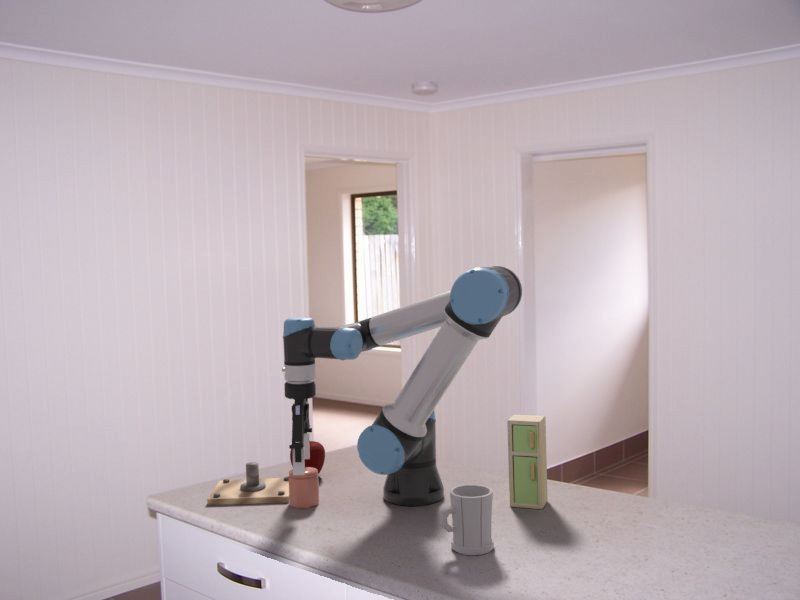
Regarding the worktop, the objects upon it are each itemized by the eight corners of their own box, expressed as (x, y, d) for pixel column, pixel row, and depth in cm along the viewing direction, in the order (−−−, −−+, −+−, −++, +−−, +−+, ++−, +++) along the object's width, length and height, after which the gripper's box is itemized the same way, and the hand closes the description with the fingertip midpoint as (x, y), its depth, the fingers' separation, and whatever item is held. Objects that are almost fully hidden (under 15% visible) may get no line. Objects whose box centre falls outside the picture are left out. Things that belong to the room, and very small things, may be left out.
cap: (319, 497, 196) (318, 466, 195) (317, 507, 189) (316, 474, 188) (291, 499, 196) (290, 467, 195) (288, 508, 189) (287, 475, 188)
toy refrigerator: (507, 507, 185) (506, 420, 183) (515, 498, 192) (513, 413, 190) (541, 511, 182) (540, 422, 180) (547, 501, 189) (546, 415, 187)
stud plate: (295, 482, 209) (294, 454, 209) (288, 502, 193) (287, 471, 193) (220, 485, 209) (219, 456, 208) (207, 505, 193) (206, 474, 192)
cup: (478, 562, 153) (477, 502, 153) (438, 553, 158) (436, 495, 157) (501, 544, 162) (500, 487, 162) (462, 536, 167) (461, 481, 166)
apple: (323, 481, 209) (322, 445, 209) (288, 482, 209) (286, 446, 209) (327, 471, 219) (326, 436, 218) (293, 472, 219) (292, 437, 218)
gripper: (290, 372, 203) (291, 453, 204) (277, 391, 178) (280, 482, 179) (319, 372, 203) (320, 452, 204) (311, 390, 178) (312, 481, 179)
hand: (301, 466), depth 192 cm, fingers open, 13 cm apart
